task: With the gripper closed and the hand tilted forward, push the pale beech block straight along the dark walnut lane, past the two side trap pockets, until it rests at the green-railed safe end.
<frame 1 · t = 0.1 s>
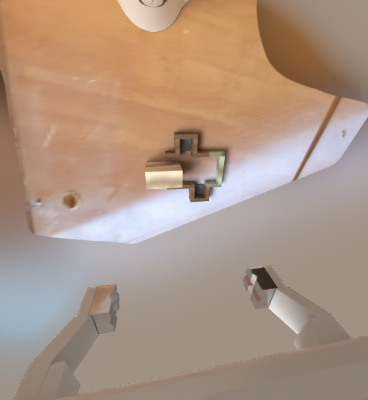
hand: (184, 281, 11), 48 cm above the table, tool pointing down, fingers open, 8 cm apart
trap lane: (193, 168, 59), on the table
beech block: (162, 169, 57), on the table
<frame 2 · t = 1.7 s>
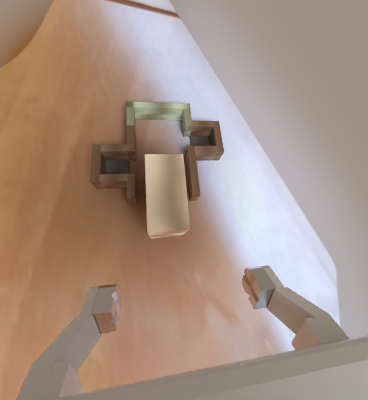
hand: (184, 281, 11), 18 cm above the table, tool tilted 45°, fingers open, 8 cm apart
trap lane: (161, 155, 33), on the table
beech block: (164, 207, 31), on the table
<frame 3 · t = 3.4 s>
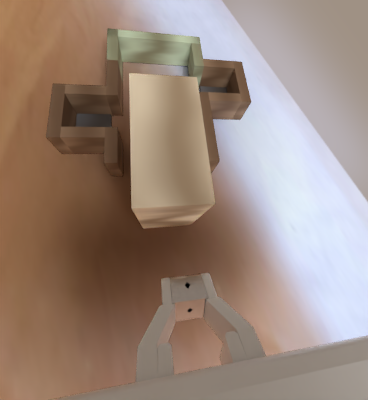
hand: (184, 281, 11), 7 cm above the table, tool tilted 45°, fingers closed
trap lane: (159, 109, 23), on the table
beech block: (164, 183, 21), on the table
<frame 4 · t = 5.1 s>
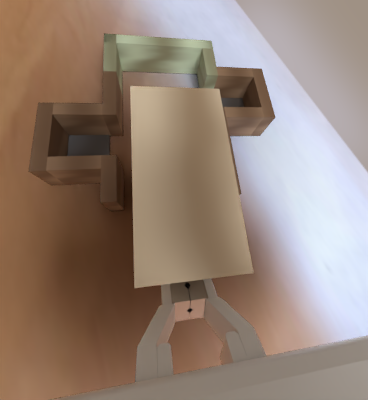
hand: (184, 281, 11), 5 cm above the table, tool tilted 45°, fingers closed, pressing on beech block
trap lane: (165, 127, 20), on the table
beech block: (172, 210, 17), on the table, touching gripper
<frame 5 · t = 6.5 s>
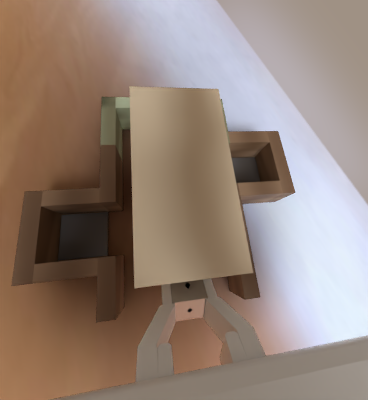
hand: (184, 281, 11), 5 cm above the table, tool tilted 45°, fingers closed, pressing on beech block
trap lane: (170, 197, 18), on the table
beech block: (172, 210, 17), on the table, touching gripper
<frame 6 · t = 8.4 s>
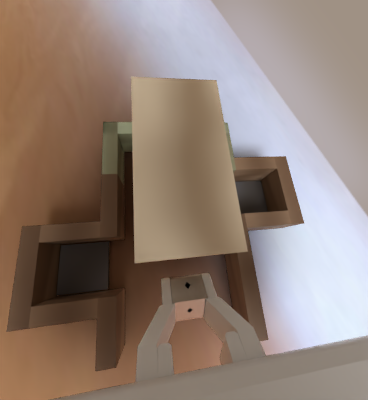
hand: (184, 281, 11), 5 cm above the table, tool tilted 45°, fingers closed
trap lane: (173, 224, 17), on the table
beech block: (172, 202, 18), on the table
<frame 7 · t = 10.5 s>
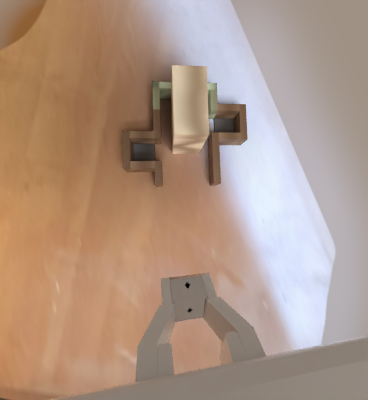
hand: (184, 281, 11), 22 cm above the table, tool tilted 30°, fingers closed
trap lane: (185, 138, 34), on the table
beech block: (184, 127, 35), on the table
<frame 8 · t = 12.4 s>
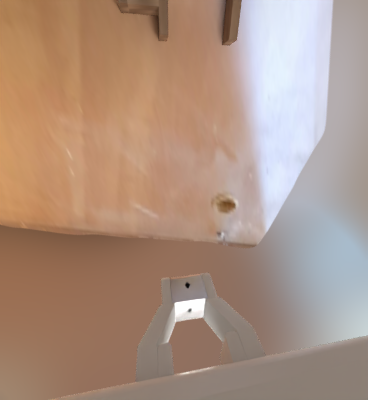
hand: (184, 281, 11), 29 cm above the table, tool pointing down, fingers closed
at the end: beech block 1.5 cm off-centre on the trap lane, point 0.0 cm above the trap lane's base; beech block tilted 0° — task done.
